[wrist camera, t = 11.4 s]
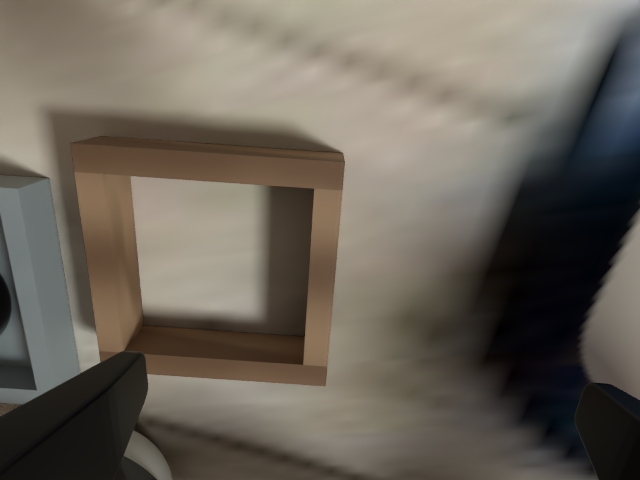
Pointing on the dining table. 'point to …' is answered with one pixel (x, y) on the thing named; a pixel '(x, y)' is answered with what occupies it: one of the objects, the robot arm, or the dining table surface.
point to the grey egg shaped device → (142, 461)
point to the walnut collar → (122, 262)
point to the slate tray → (33, 294)
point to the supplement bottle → (4, 305)
